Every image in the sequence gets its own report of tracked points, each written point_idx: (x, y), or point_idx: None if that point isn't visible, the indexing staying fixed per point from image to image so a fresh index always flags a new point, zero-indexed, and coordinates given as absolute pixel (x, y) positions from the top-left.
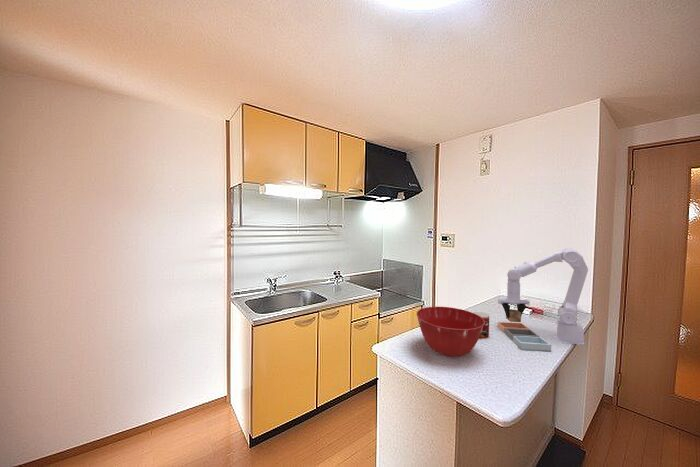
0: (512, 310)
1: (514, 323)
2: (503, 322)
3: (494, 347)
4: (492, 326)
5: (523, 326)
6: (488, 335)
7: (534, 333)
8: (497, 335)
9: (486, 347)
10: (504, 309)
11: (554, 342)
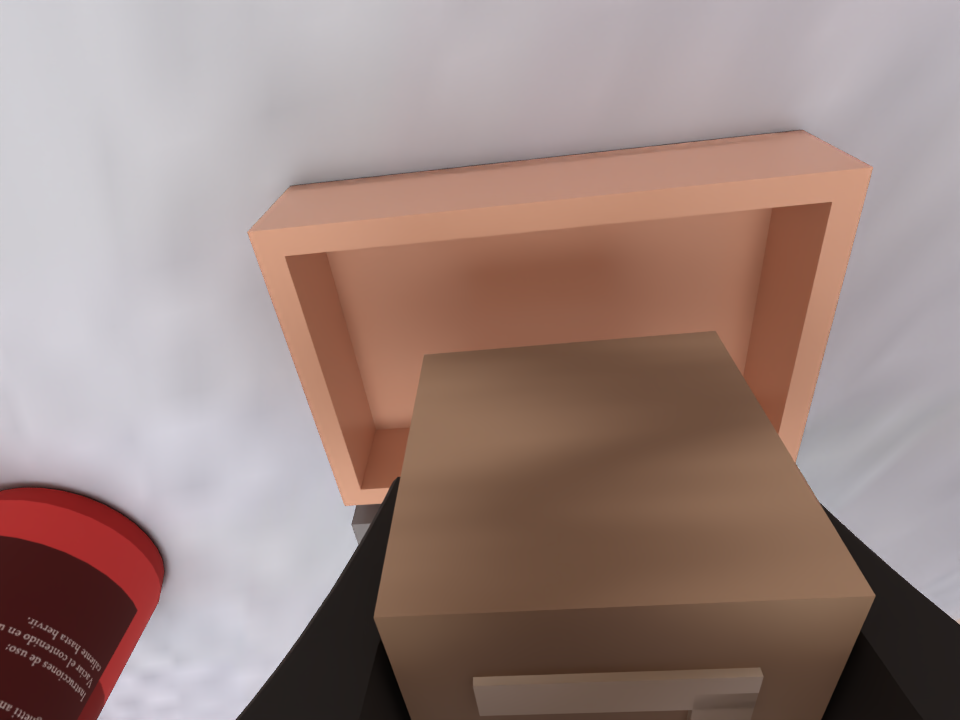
0: (592, 704)
1: (655, 216)
2: (388, 236)
3: (233, 703)
4: (191, 150)
5: (793, 296)
6: (150, 615)
7: None
8: (270, 504)
9: (169, 711)
10: (278, 699)
11: (915, 552)
